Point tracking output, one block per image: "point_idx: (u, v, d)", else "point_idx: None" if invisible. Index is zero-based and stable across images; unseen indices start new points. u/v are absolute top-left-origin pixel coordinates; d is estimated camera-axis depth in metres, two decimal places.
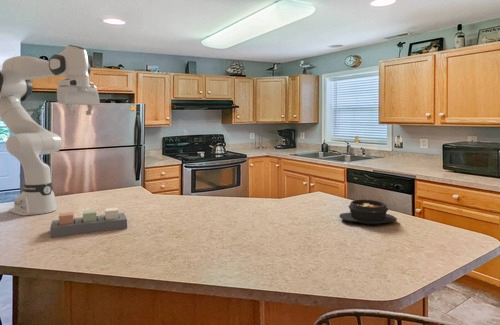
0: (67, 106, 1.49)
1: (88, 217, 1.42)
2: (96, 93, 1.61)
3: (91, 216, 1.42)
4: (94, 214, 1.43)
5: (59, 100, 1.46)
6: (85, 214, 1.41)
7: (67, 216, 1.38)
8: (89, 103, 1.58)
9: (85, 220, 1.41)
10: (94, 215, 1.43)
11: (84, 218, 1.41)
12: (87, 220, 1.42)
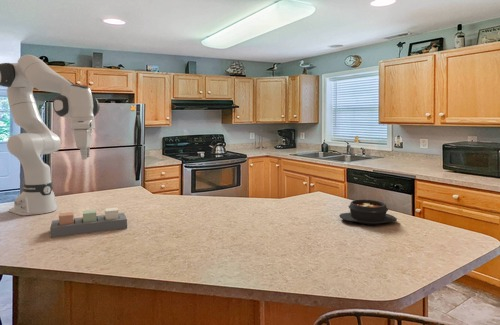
0: (82, 150, 1.37)
1: (88, 217, 1.42)
2: (90, 133, 1.51)
3: (91, 216, 1.42)
4: (94, 214, 1.43)
5: (80, 145, 1.34)
6: (85, 214, 1.41)
7: (67, 216, 1.38)
8: (90, 145, 1.47)
9: (85, 220, 1.41)
10: (94, 215, 1.43)
11: (84, 218, 1.41)
12: (87, 220, 1.42)
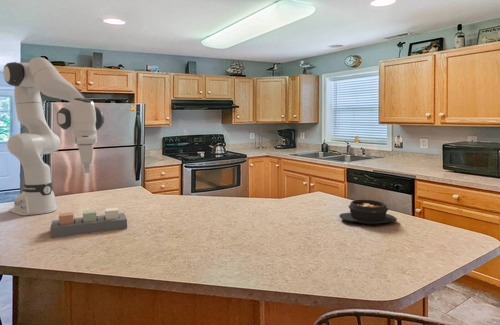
0: (86, 164, 1.39)
1: (88, 217, 1.42)
2: None
3: (91, 216, 1.42)
4: (94, 214, 1.43)
5: (85, 160, 1.32)
6: (85, 214, 1.41)
7: (67, 216, 1.38)
8: None
9: (85, 220, 1.41)
10: (94, 215, 1.43)
11: (84, 218, 1.41)
12: (87, 220, 1.42)
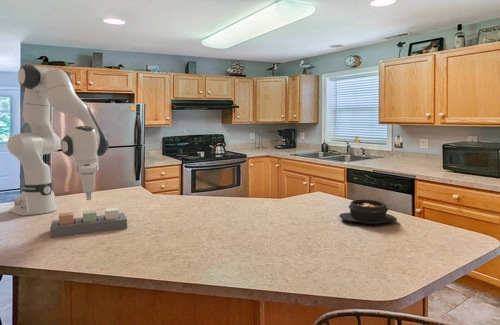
0: None
1: (88, 217, 1.42)
2: None
3: (91, 216, 1.42)
4: (94, 214, 1.43)
5: (87, 189, 1.33)
6: (85, 214, 1.41)
7: (67, 216, 1.38)
8: None
9: (85, 220, 1.41)
10: (94, 215, 1.43)
11: (84, 218, 1.41)
12: (87, 220, 1.42)
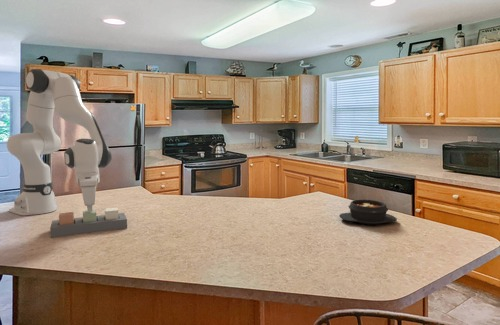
0: None
1: (88, 217, 1.42)
2: None
3: (91, 216, 1.42)
4: (94, 214, 1.43)
5: (88, 202, 1.34)
6: (85, 214, 1.41)
7: (67, 216, 1.38)
8: None
9: (85, 220, 1.41)
10: (94, 215, 1.43)
11: (84, 218, 1.41)
12: (87, 220, 1.42)
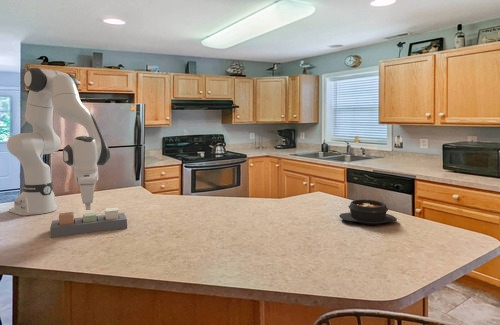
0: None
1: (88, 219, 1.42)
2: None
3: (92, 219, 1.42)
4: (94, 217, 1.43)
5: (86, 200, 1.34)
6: (85, 217, 1.41)
7: (67, 216, 1.38)
8: None
9: None
10: (94, 217, 1.43)
11: (84, 221, 1.41)
12: None
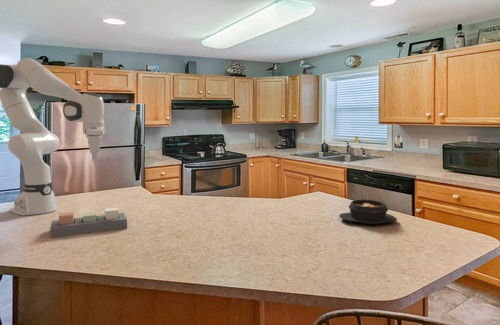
0: (93, 153, 1.53)
1: (88, 219, 1.42)
2: None
3: (92, 219, 1.42)
4: (94, 217, 1.43)
5: (93, 150, 1.46)
6: (85, 217, 1.41)
7: (67, 216, 1.38)
8: None
9: None
10: (94, 217, 1.43)
11: (84, 221, 1.41)
12: None
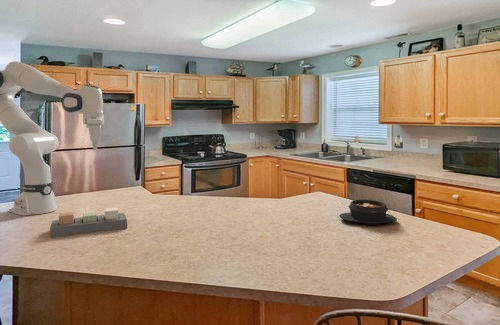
0: (94, 143, 1.60)
1: (88, 219, 1.42)
2: None
3: (92, 219, 1.42)
4: (94, 217, 1.43)
5: (94, 138, 1.53)
6: (85, 217, 1.41)
7: (67, 216, 1.38)
8: None
9: None
10: (94, 217, 1.43)
11: (84, 221, 1.41)
12: None
